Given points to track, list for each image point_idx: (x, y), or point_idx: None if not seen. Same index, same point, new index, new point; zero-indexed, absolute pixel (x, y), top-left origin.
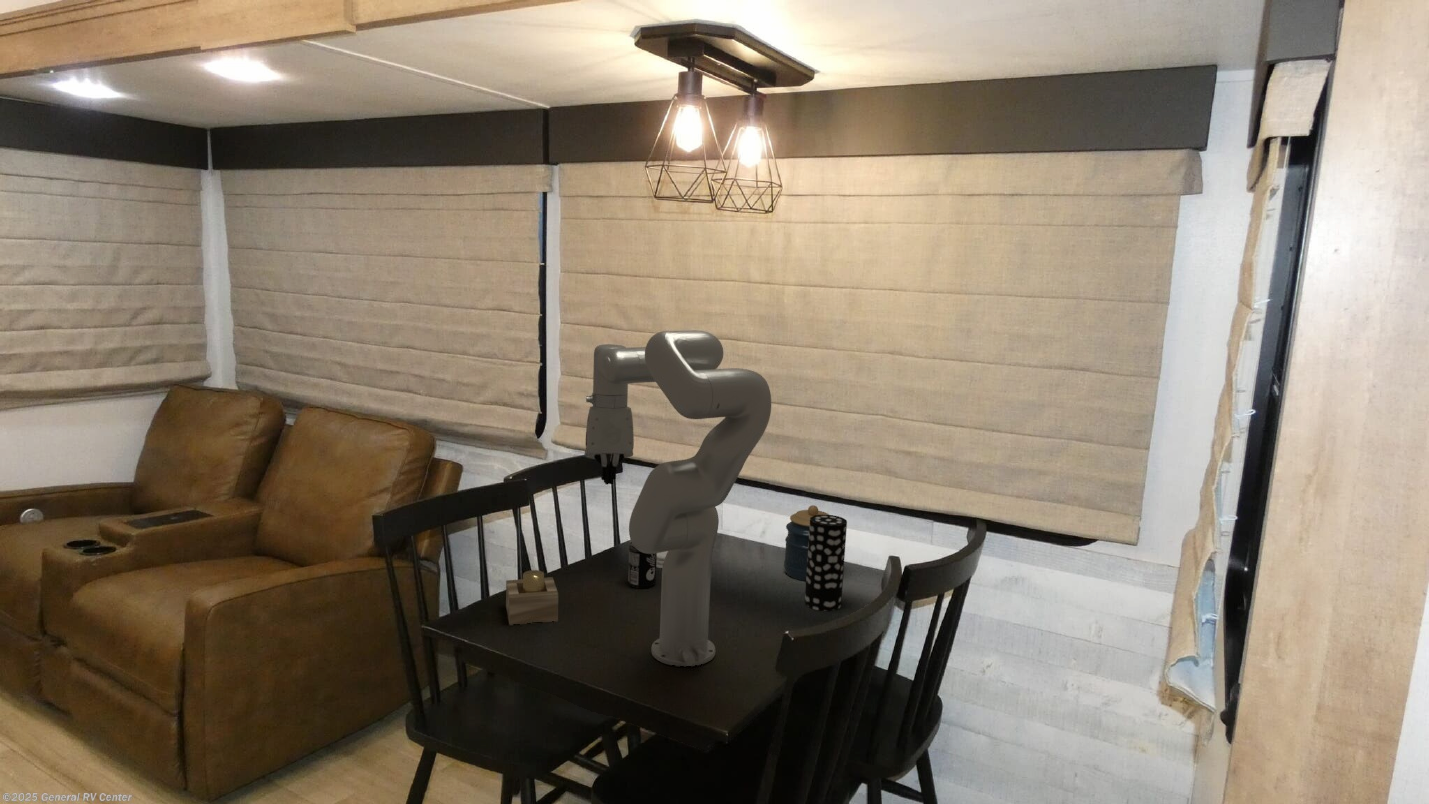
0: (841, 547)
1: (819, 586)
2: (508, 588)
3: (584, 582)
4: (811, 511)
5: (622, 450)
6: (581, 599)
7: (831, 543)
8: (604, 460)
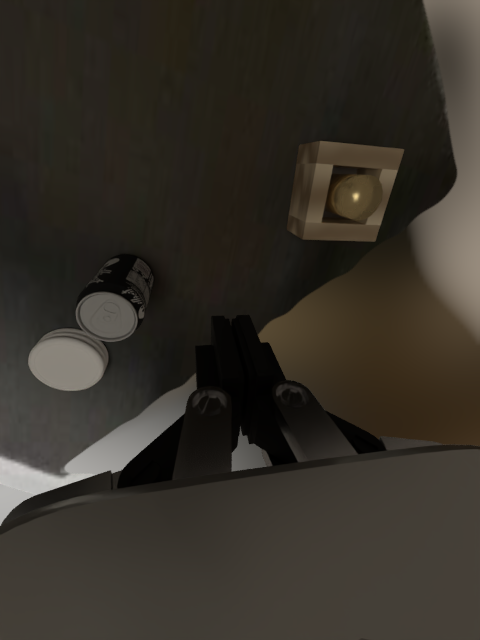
0: None
1: None
2: (387, 200)
3: (222, 298)
4: None
5: (130, 532)
6: (240, 233)
7: None
8: (304, 420)
